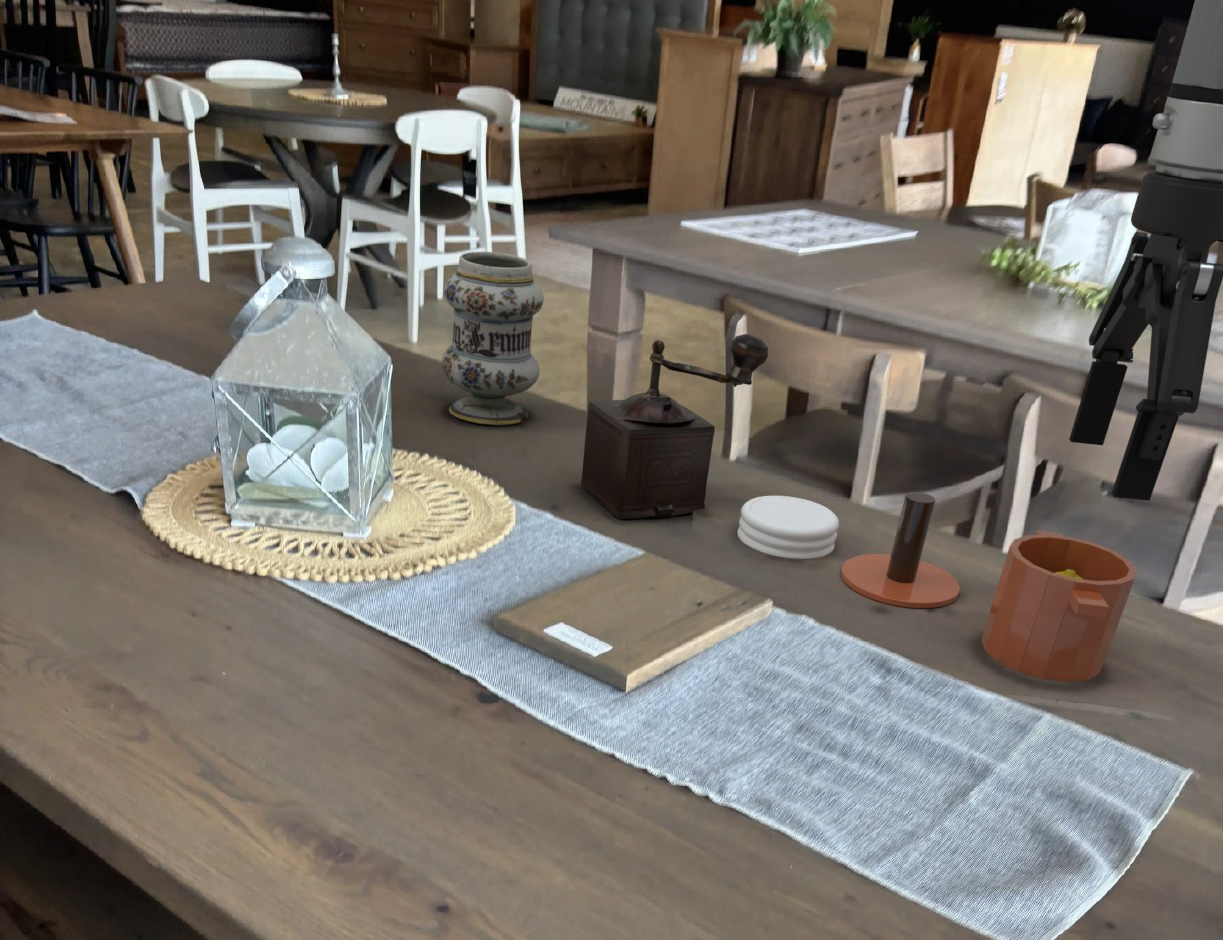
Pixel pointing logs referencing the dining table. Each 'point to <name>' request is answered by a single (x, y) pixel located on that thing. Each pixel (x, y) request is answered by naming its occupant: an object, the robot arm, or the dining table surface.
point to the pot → (1057, 607)
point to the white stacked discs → (788, 527)
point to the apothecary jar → (491, 336)
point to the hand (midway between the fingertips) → (1106, 468)
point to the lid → (904, 564)
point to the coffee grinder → (657, 442)
